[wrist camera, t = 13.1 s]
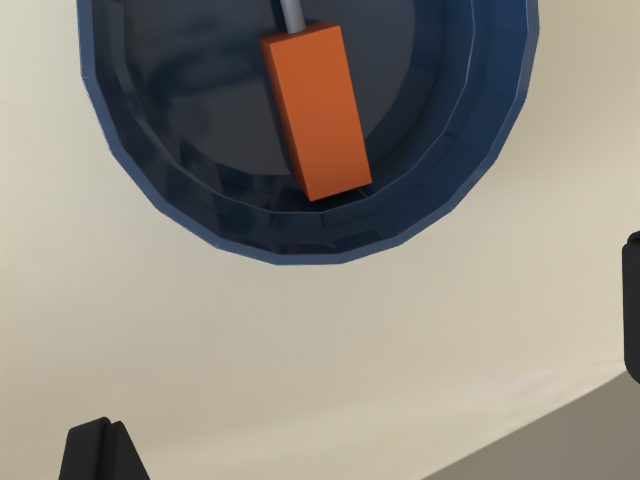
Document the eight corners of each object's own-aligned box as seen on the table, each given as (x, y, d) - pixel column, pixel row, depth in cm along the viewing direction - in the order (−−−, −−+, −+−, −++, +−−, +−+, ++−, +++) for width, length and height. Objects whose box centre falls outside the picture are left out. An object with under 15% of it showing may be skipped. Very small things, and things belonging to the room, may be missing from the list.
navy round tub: (174, 255, 31) (175, 317, 25) (30, -128, 23) (-16, -166, 18) (483, 159, 32) (552, 197, 27) (437, -220, 25) (518, -283, 20)
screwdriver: (353, 164, 30) (372, 182, 28) (296, 181, 30) (309, 202, 27) (290, -127, 25) (306, -142, 22) (219, -110, 25) (226, -123, 22)
